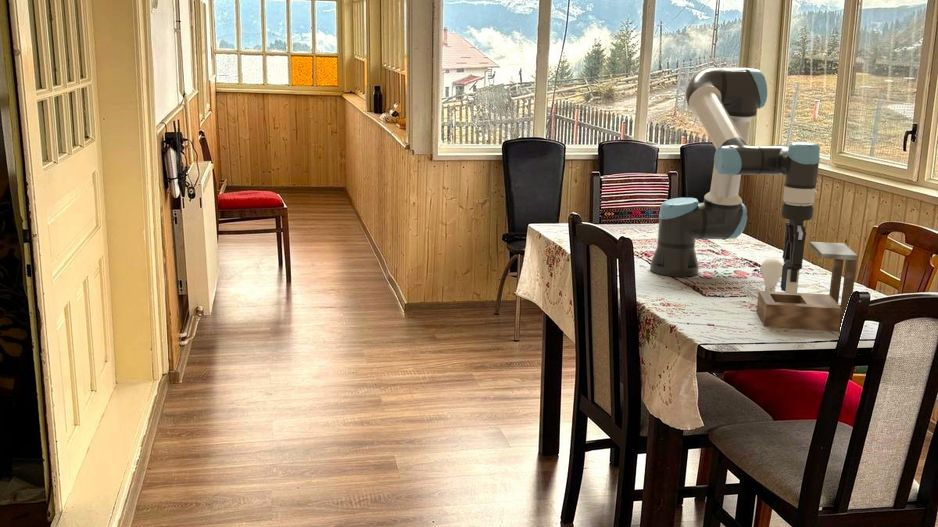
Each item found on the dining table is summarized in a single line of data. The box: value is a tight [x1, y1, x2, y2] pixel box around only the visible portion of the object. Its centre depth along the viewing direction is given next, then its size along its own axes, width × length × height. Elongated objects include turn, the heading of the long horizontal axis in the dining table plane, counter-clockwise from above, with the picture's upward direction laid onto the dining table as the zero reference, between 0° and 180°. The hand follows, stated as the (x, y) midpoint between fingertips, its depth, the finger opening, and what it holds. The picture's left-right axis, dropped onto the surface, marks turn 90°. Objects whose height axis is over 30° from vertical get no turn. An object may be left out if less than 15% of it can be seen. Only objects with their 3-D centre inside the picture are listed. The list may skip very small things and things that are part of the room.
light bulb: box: [759, 257, 784, 292], centre depth 253 cm, size 7×7×11 cm
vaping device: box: [780, 260, 800, 292], centre depth 227 cm, size 3×5×12 cm, turn 16°
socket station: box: [756, 241, 859, 332], centre depth 227 cm, size 20×14×20 cm
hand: (788, 290), depth 228 cm, fingers closed on vaping device, 5 cm apart
